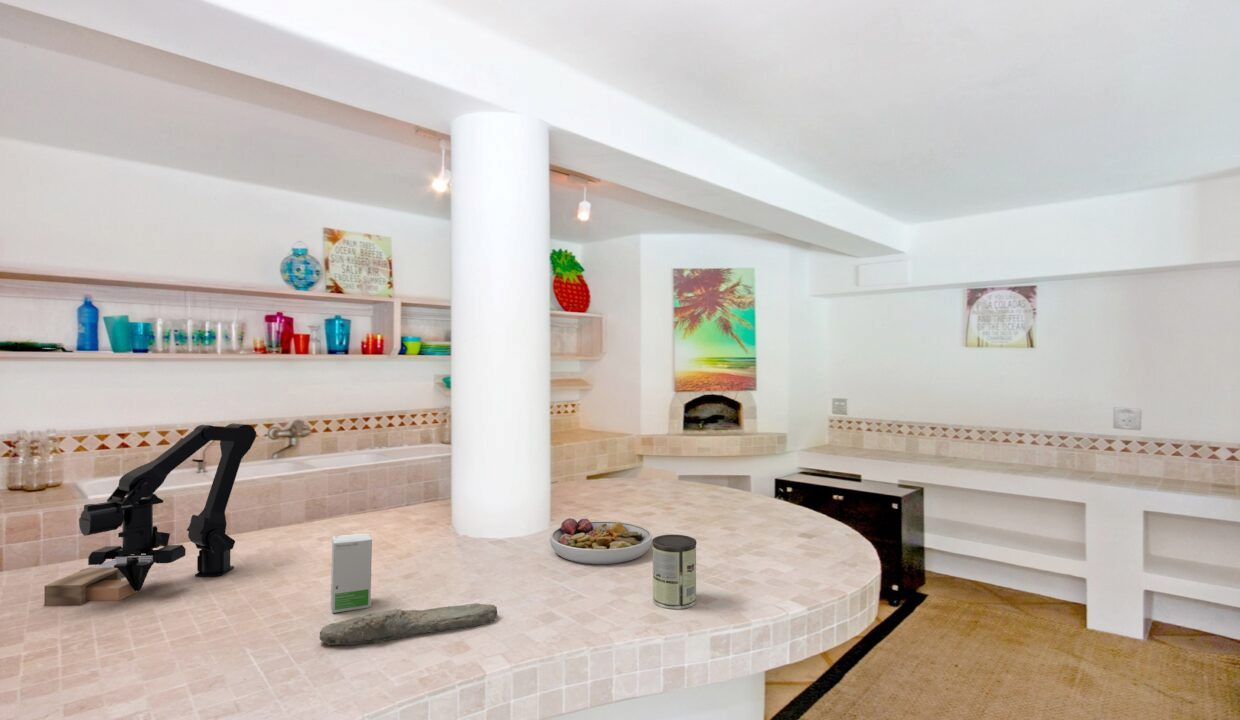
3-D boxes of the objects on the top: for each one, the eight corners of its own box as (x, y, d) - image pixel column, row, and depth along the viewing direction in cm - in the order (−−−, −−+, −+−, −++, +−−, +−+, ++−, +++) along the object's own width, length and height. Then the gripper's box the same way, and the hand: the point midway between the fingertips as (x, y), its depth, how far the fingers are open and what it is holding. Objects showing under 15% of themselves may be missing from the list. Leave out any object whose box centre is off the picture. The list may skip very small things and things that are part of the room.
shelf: (121, 585, 152) (121, 567, 152) (81, 604, 140) (81, 585, 140) (87, 586, 152) (87, 567, 152) (44, 605, 140) (44, 585, 140)
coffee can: (658, 590, 150) (658, 532, 150) (700, 595, 146) (700, 536, 146) (646, 606, 140) (646, 544, 140) (691, 612, 137) (691, 549, 137)
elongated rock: (501, 634, 129) (492, 618, 138) (502, 608, 130) (494, 594, 139) (316, 653, 116) (321, 634, 126) (318, 625, 117) (322, 608, 126)
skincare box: (331, 614, 135) (331, 543, 135) (330, 603, 141) (330, 536, 141) (372, 607, 139) (372, 538, 139) (369, 597, 145) (369, 531, 145)
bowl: (670, 546, 186) (670, 520, 186) (616, 575, 161) (616, 545, 161) (589, 531, 202) (589, 507, 202) (528, 556, 177) (528, 528, 177)
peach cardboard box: (136, 592, 148) (136, 580, 148) (118, 601, 143) (118, 588, 143) (104, 592, 148) (104, 579, 148) (85, 600, 143) (85, 587, 143)
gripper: (199, 515, 155) (199, 577, 155) (121, 517, 154) (121, 579, 154) (170, 527, 144) (170, 594, 144) (86, 529, 143) (86, 596, 143)
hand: (137, 590), depth 146 cm, fingers closed
